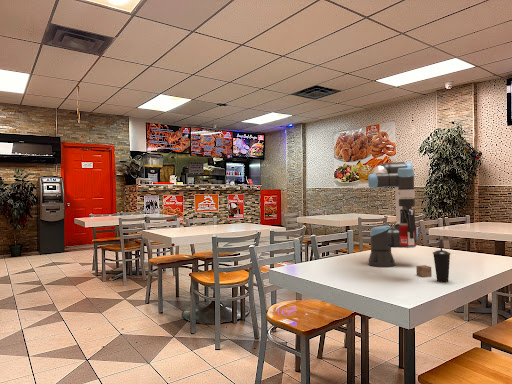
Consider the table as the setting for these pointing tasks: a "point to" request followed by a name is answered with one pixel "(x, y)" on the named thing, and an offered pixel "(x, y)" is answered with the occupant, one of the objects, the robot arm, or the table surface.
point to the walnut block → (424, 271)
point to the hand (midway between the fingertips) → (408, 243)
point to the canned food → (406, 235)
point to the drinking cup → (442, 264)
